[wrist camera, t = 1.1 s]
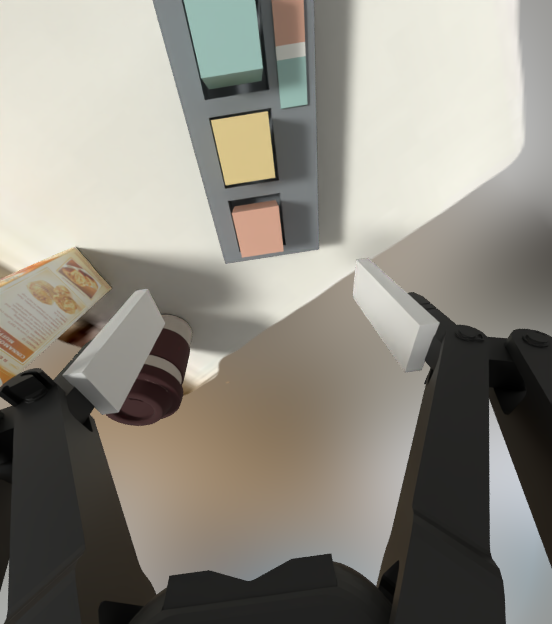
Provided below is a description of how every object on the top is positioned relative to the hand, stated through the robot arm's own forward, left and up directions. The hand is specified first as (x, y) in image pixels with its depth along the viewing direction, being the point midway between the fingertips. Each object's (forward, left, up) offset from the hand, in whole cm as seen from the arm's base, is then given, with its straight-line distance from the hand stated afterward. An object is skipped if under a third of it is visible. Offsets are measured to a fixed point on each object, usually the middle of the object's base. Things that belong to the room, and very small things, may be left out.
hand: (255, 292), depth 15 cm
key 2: (-15, +1, -15) cm, 21 cm away
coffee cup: (+15, -17, -19) cm, 30 cm away
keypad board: (-8, +2, -19) cm, 20 cm away
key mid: (-8, +1, -15) cm, 16 cm away
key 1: (-1, +1, -15) cm, 15 cm away
